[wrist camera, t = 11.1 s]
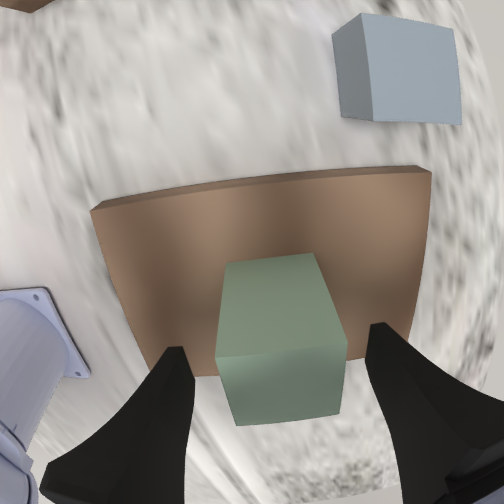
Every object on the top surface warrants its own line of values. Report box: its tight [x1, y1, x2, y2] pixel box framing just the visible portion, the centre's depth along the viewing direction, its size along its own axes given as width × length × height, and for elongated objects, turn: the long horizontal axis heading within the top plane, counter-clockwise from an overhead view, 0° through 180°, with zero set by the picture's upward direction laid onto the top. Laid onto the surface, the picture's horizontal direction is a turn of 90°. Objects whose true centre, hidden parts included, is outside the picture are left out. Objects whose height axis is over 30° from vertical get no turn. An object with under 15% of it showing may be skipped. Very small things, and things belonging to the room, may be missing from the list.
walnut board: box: [90, 166, 432, 377], centre depth 16 cm, size 16×11×2 cm
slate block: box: [332, 13, 462, 125], centre depth 10 cm, size 4×4×4 cm
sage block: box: [215, 253, 348, 426], centre depth 12 cm, size 4×4×6 cm
